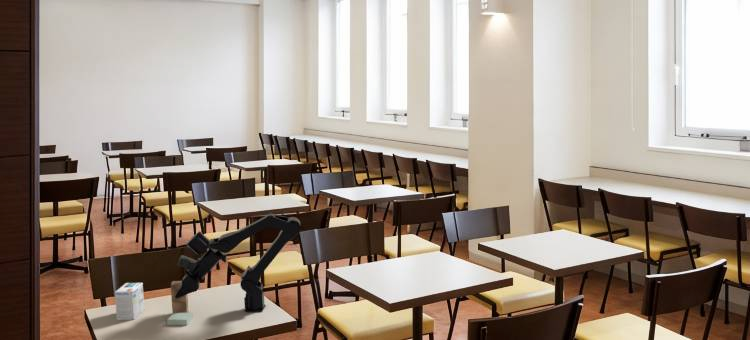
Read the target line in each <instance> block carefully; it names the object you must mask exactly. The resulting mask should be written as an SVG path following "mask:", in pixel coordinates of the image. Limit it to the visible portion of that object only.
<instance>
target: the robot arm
mask: <svg viewBox="0 0 750 340" xmlns="http://www.w3.org/2000/svg"><path fill="white" fill-rule="evenodd" d="M270 227H272V228H275V229H277V230H280V231H279V233H278V235H277V236H276V238H275V239H274V240H273V242H272V243H271V245H270V246H269V247H268V248H267V249H266V251H265V252H264V253H263V255H262V256H261V257H260V258H259V260H258V261H257V262H256V263H255V264H254V265H253V266H252V267H251V266H250V265H247V267H246V269H245V271H243V272H242V273H241V275H240V276H241V277H240V284H239V285H240V288H241V289H242V291H244V292H245V296H244V298H243V299H244V301H243V302H244V308H245V310H244V311H245V312H263V310H265V308H266V307H267V306H266V304H265V291H263V283H262V282H261V281H260V280H261V278H262V276H263V274H264V272H265V271H266V270H267V268H268V267H269V265H270V264H271V263H272V262H273V260H274V259H275V258H276V257H277V255H279V253H280V252H281V250H282V249H283V248H284V247H285V245H286V244H287V243H289V242H290V241H291V240H293V239H294V238H295V237H296V236H297V235H299V233H301V230H302V227H301V221H300V219H298V218H297V217H295V216H291V217H288V216H282V215H276V214H274V213H268V214H266V215H265V216H264V217H261V218H259V219H258V220H255V221H254V222H252V223H250V224H248V225H246V226H244V227H242V228H240V229H238V230H236V231H235V230H234V231H230V232H227V233H224V234H222V235H220V236H219V237H215V238H210V239H209V238H208V237H207V236H205V235H204V233H203V232H202V231H200V230H198V232H197V233H195V234H193V236H192V237H191V238H190V239H189V240H188V241H187V242H186V244H185V245H186V246H187V247H188V248H189V249H190V250H192V251H193V252H194V253H195V254H196V255H202V256H201V257H198V258H197V259H194V258H192V257H189V256H186V255H183V254H181V255H180V257H179V260H178V262H177V265H176V266H178V267H179V268H184V269H186V270H185V275H184V276H183V278H182V279H181V281H182V286H181V288H180V289H179V291H178V292H177V294H176V295H175V297H176V298H180V297H182V296H184V295H189V294H192V293H195V292H196V291H198V290H199V289H200V286H201V282H203V280H204V278H205V277H206V275H208V274H210V273H211V272H212V269H214V268H215V267H216V265H217V264H218V263H219V262H220V261H222V262H223V263H227V259H228V258H227V256H228V254H227V253H230V252H231V251H232V250H234V249H235V248H236V247H238V245H240V244H241V243H242V242H244V241H246V240H247V239H249V238H252V236H255V235H257V234H258V233H260V232H262V231H264V230H266V229H268V228H270Z"/></svg>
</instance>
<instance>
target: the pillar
mask: <svg viewBox="0 0 750 340" xmlns="http://www.w3.org/2000/svg"><path fill="white" fill-rule="evenodd" d="M181 286H182V280H173V281H171V284H170V296H171V308H172V309H171V310H172V312H171V313H172V314H173V313H190V312H189V297H188V295H189V294H187V295H184V296H182V297H180V298H176V297H175V295H176V294H177V292H178V291H179V289H180V288H181Z"/></svg>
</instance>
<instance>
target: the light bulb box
mask: <svg viewBox="0 0 750 340" xmlns="http://www.w3.org/2000/svg"><path fill="white" fill-rule="evenodd" d="M143 285H144V283H143V282H125V283H123V285H121V286H120V287H119V288H118V289H117V290H115V291H114V299H115V300H114V301H115V314H116V321H121V320H122V321H126V320H127V321H128V320H129V321H130V320H131V321H134V320H135V319H136V318H137V317H138V316H139V315H141V314H142V313H143V312H144V311H145V298H144V296H145V295H144V286H143Z"/></svg>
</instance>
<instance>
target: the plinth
mask: <svg viewBox="0 0 750 340" xmlns="http://www.w3.org/2000/svg"><path fill="white" fill-rule="evenodd" d="M193 319H194V312H188V313H173V312H172V314H171V315H170V316H169V317H168V318H167V319H166V320H167V321H166V324H167V326H188V325H189V324H190V322H191V321H192V320H193Z"/></svg>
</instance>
